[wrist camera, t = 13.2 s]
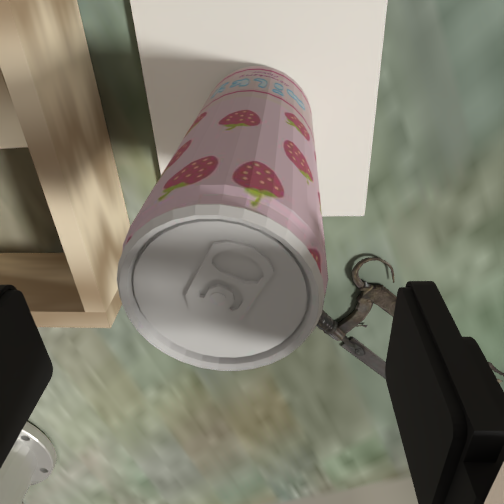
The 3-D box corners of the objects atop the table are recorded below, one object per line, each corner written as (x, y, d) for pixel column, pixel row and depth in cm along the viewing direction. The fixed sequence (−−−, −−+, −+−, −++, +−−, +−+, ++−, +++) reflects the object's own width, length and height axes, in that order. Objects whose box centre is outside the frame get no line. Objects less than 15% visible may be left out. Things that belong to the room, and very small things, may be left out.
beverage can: (317, 66, 22) (348, 209, 9) (306, 173, 25) (318, 385, 13) (203, 61, 22) (87, 194, 10) (207, 167, 25) (123, 370, 13)
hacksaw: (263, 282, 31) (262, 296, 30) (381, 188, 26) (386, 199, 25) (460, 435, 39) (466, 450, 38) (577, 383, 34) (588, 399, 33)
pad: (363, 211, 27) (364, 215, 26) (170, 213, 28) (168, 217, 27) (387, -20, 20) (389, -19, 20) (132, -6, 21) (128, -5, 21)
